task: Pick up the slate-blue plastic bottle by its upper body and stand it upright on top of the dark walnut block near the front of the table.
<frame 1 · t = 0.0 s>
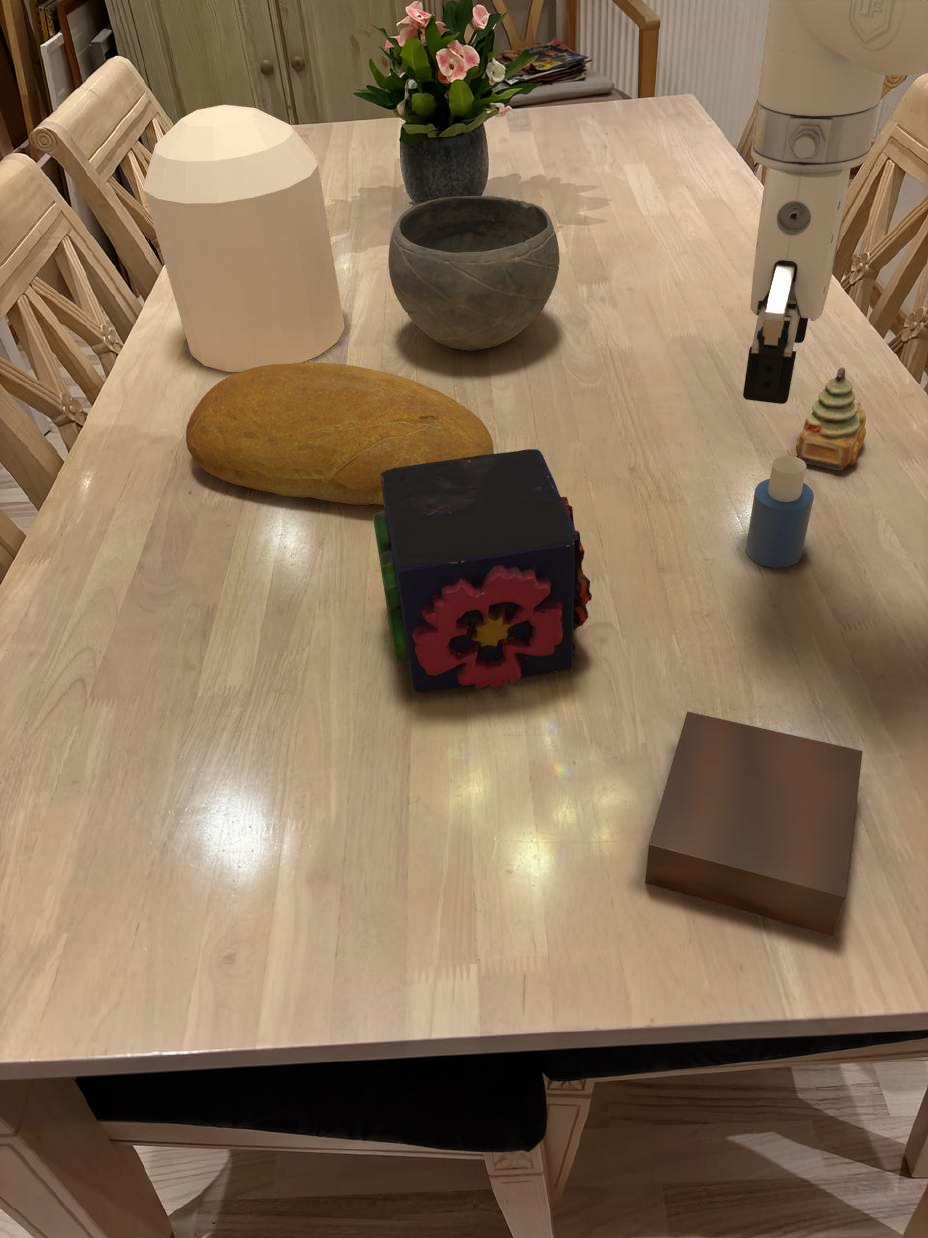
hand: (774, 368, 75), 20 cm above the table, tool pointing down, fingers open, 9 cm apart
block: (750, 835, 67), on the table
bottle: (773, 550, 90), on the table
container: (267, 335, 130), on the table
decorative cube: (483, 632, 85), on the table
bowl: (478, 337, 126), on the table
ornament: (828, 453, 101), on the table
bread: (344, 462, 106), on the table
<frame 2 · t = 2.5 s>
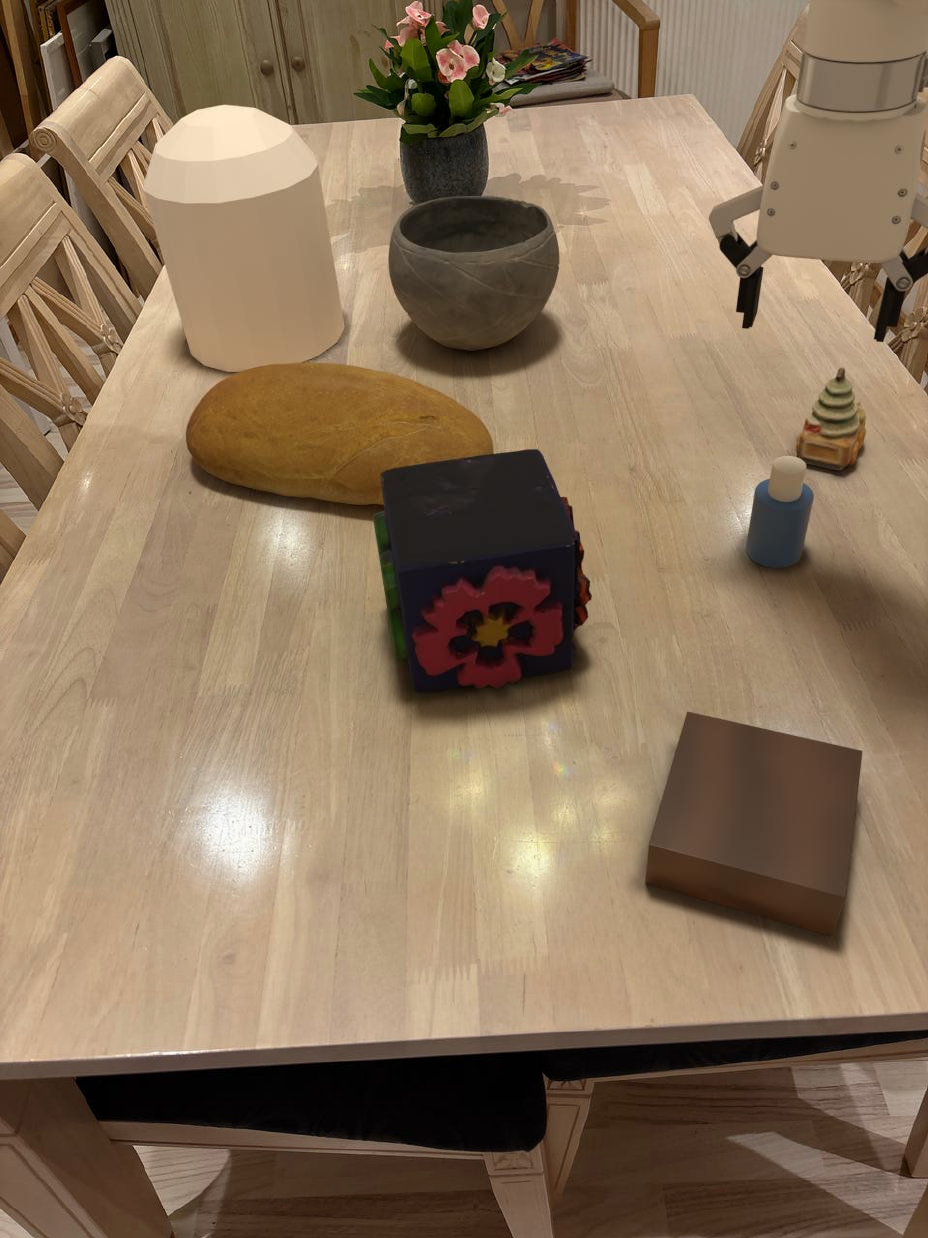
hand: (813, 327, 75), 22 cm above the table, tool pointing down, fingers open, 9 cm apart
nothing on the table moved.
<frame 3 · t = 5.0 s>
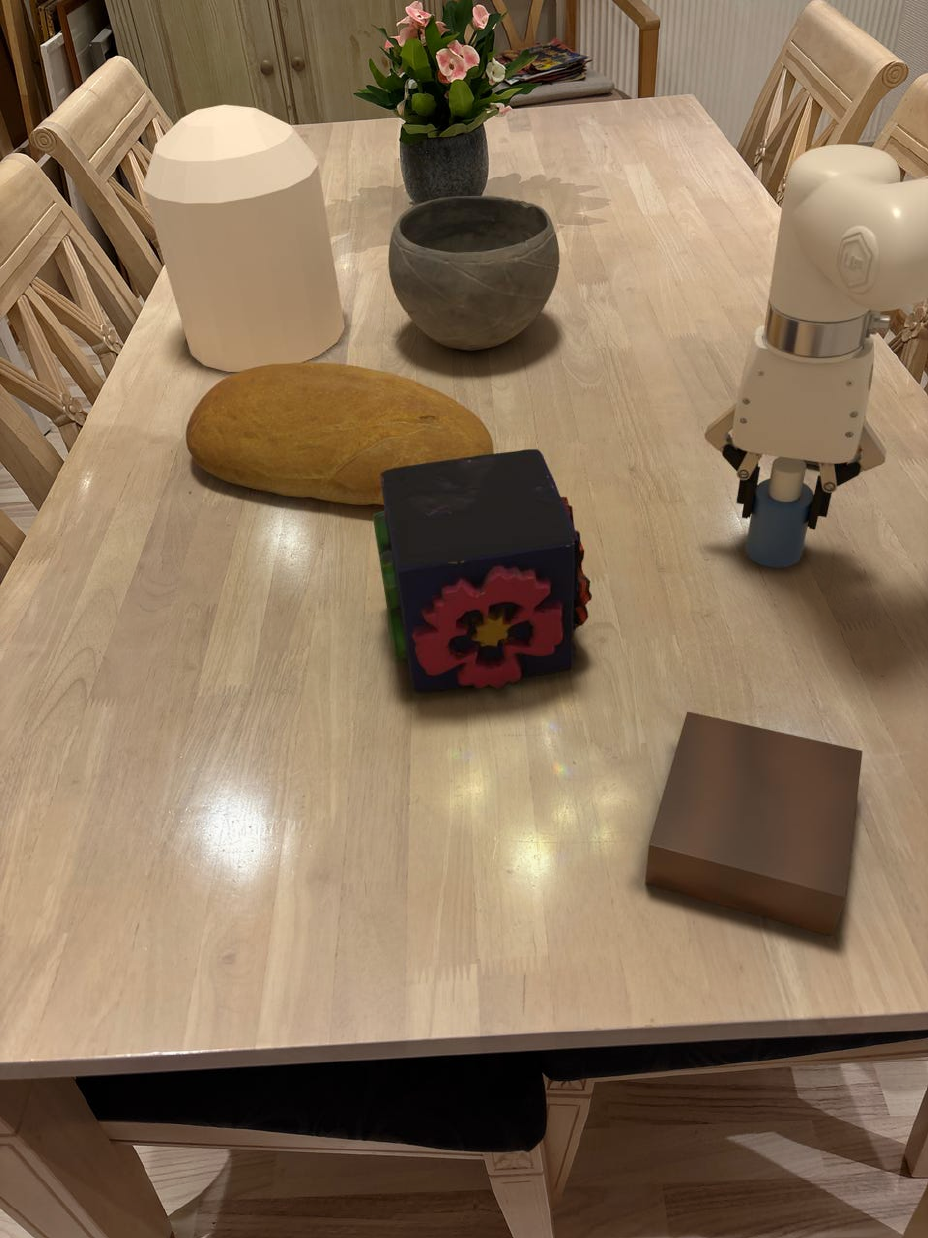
hand: (780, 513, 87), 4 cm above the table, tool pointing down, fingers closed on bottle, 5 cm apart
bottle: (773, 550, 90), on the table, touching gripper
everything else where it was.
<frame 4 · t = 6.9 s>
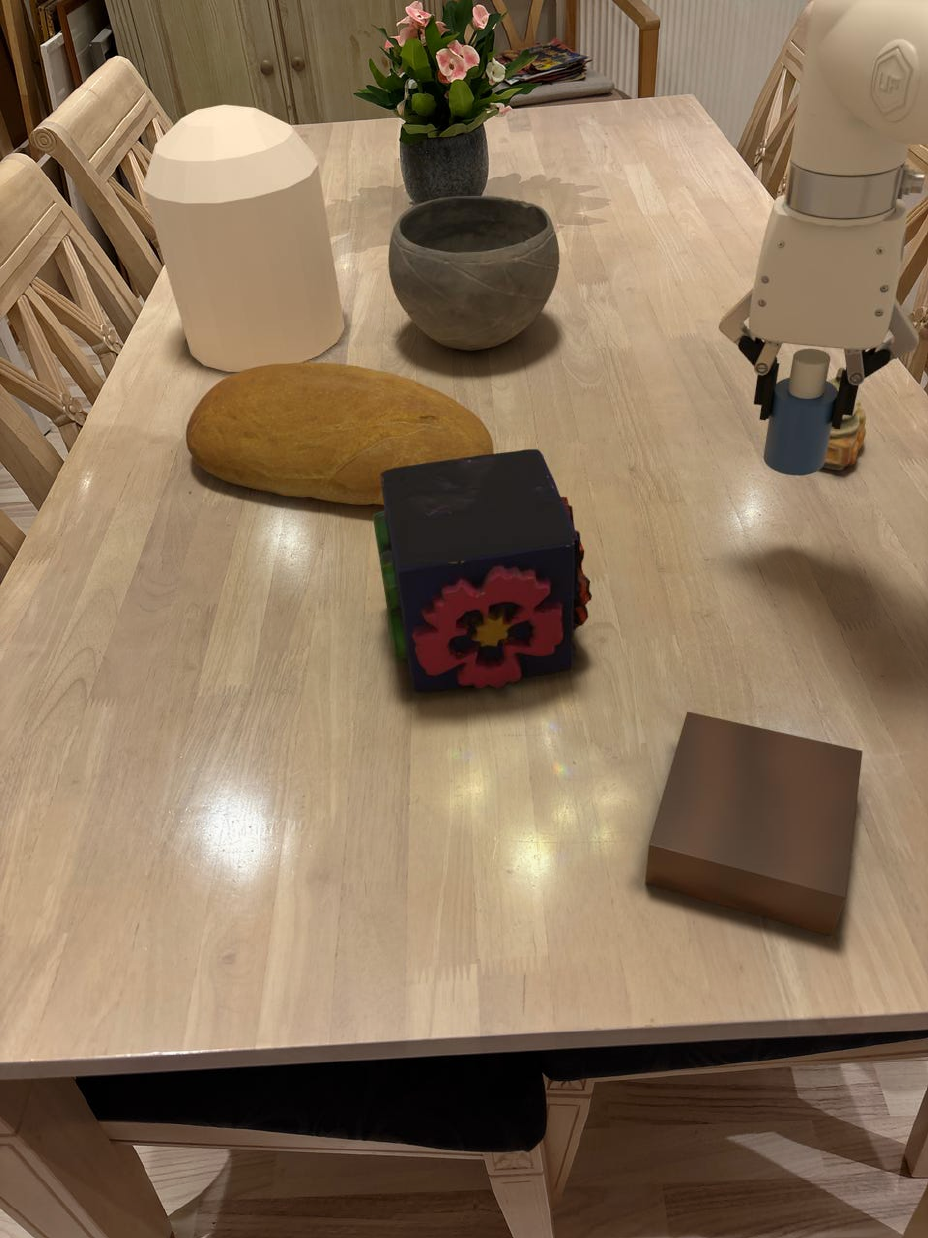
hand: (801, 414, 80), 15 cm above the table, tool pointing down, fingers closed on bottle, 5 cm apart
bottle: (793, 459, 83), point 10 cm above the table, touching gripper
everything else where it was.
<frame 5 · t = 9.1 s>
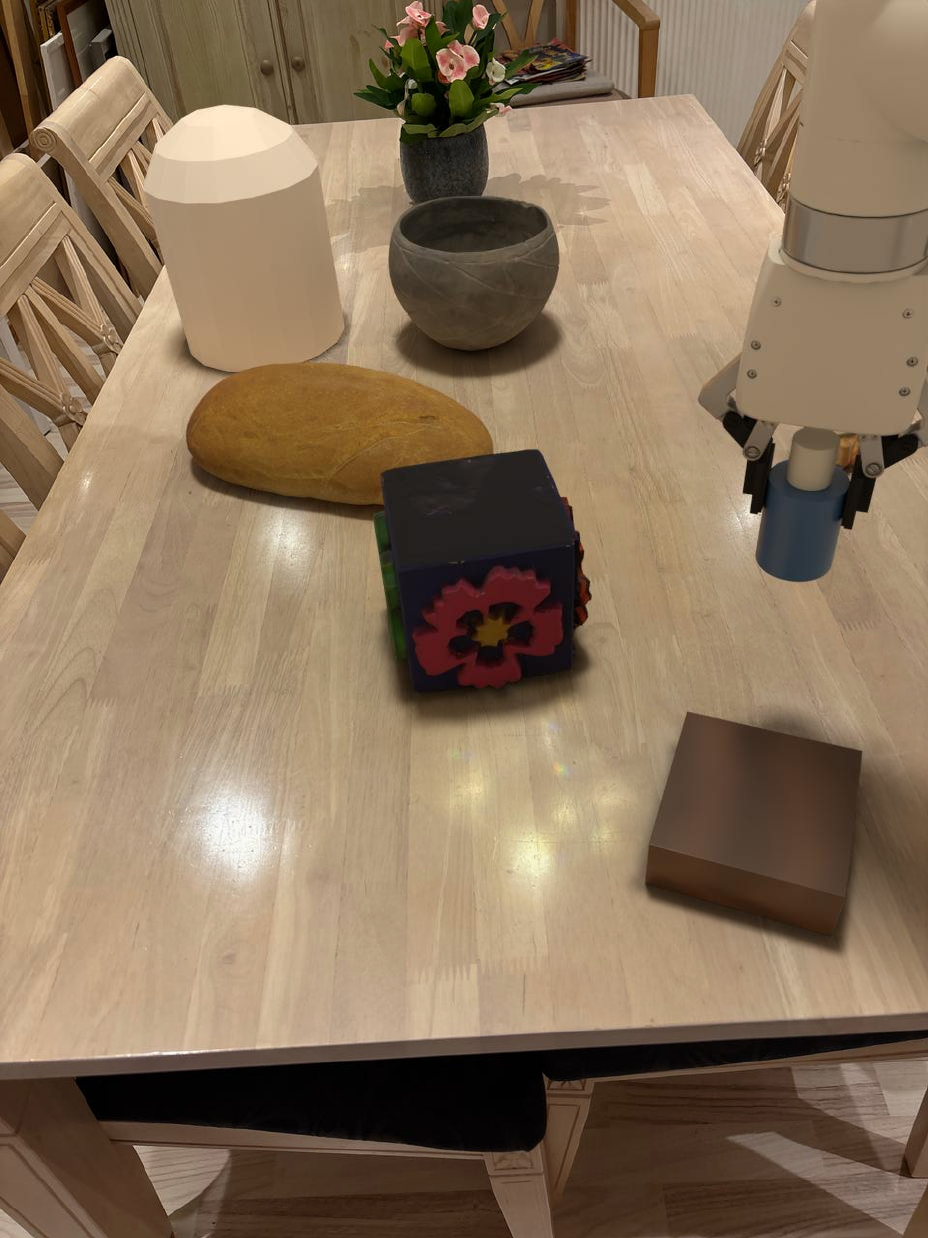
hand: (803, 507, 63), 19 cm above the table, tool pointing down, fingers closed on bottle, 5 cm apart
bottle: (793, 558, 66), point 15 cm above the table, touching gripper
everything else where it was.
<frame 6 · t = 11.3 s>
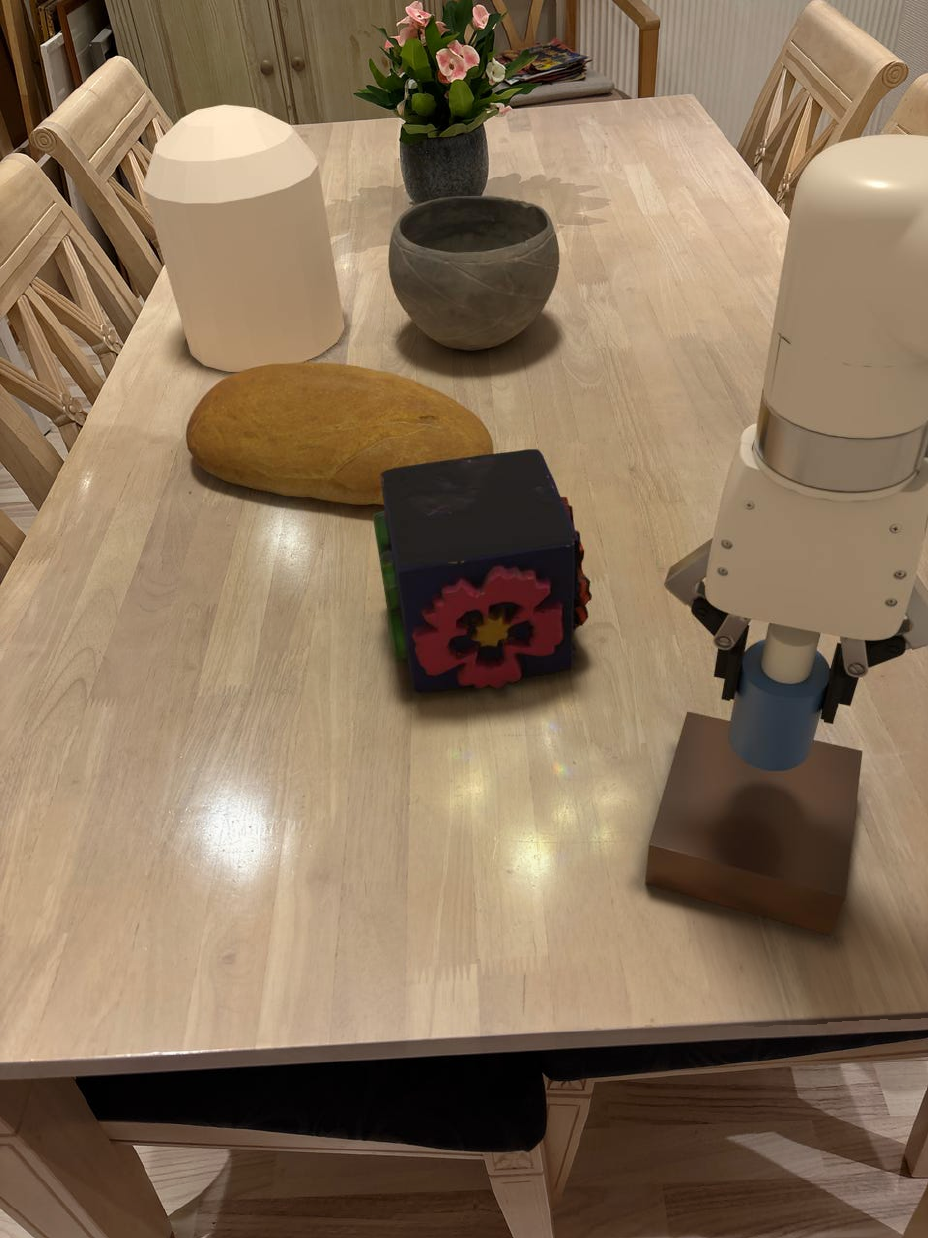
hand: (779, 692, 58), 14 cm above the table, tool pointing down, fingers closed on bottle, 5 cm apart
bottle: (769, 740, 60), point 10 cm above the table, touching gripper
everything else where it was.
when the fingers open (9 cm above the table, at t = 13.0 s): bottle stays where it is, resting on block.
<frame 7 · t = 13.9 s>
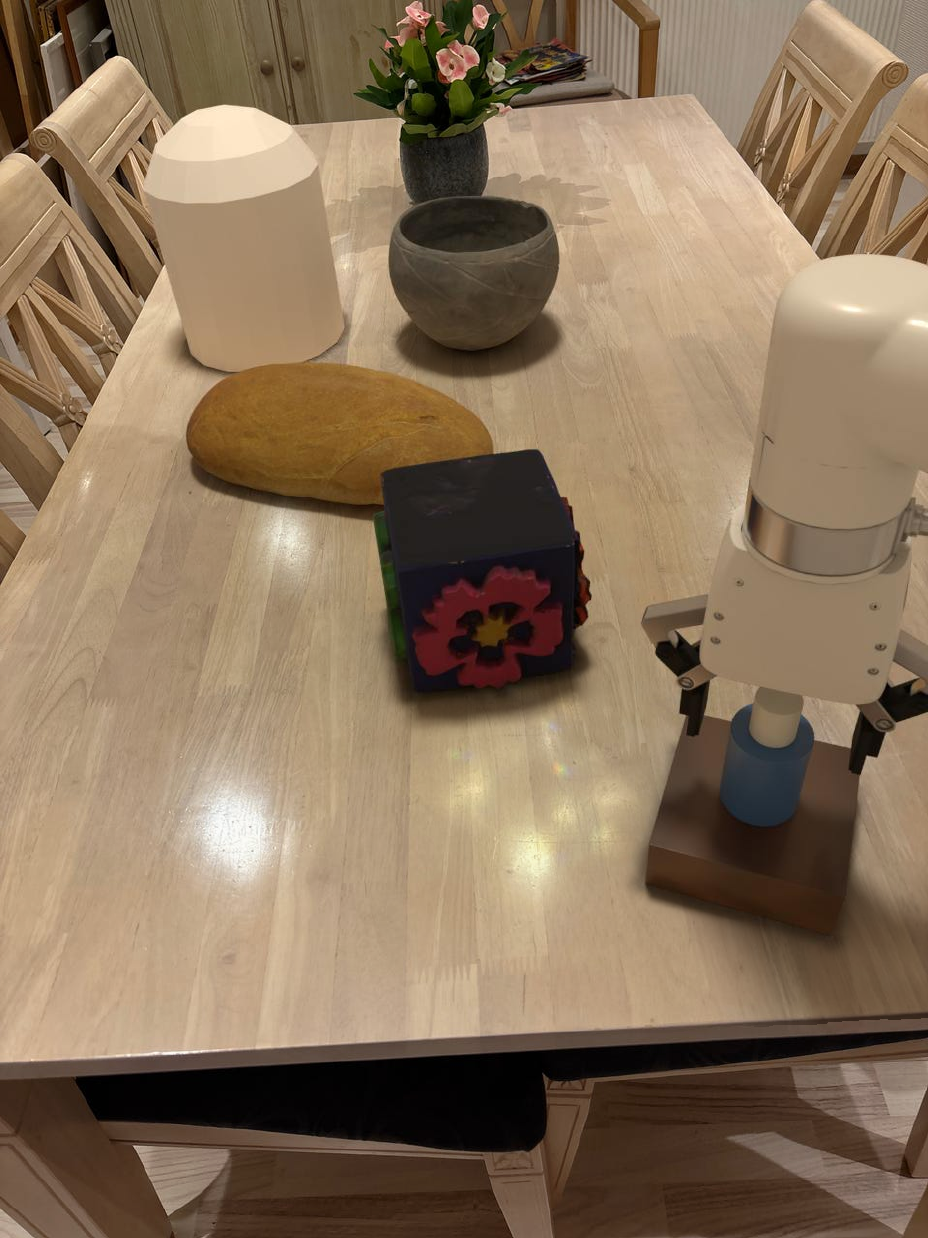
hand: (774, 738, 60), 10 cm above the table, tool pointing down, fingers open, 9 cm apart
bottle: (758, 795, 64), point 4 cm above the table, touching block
everything else where it was.
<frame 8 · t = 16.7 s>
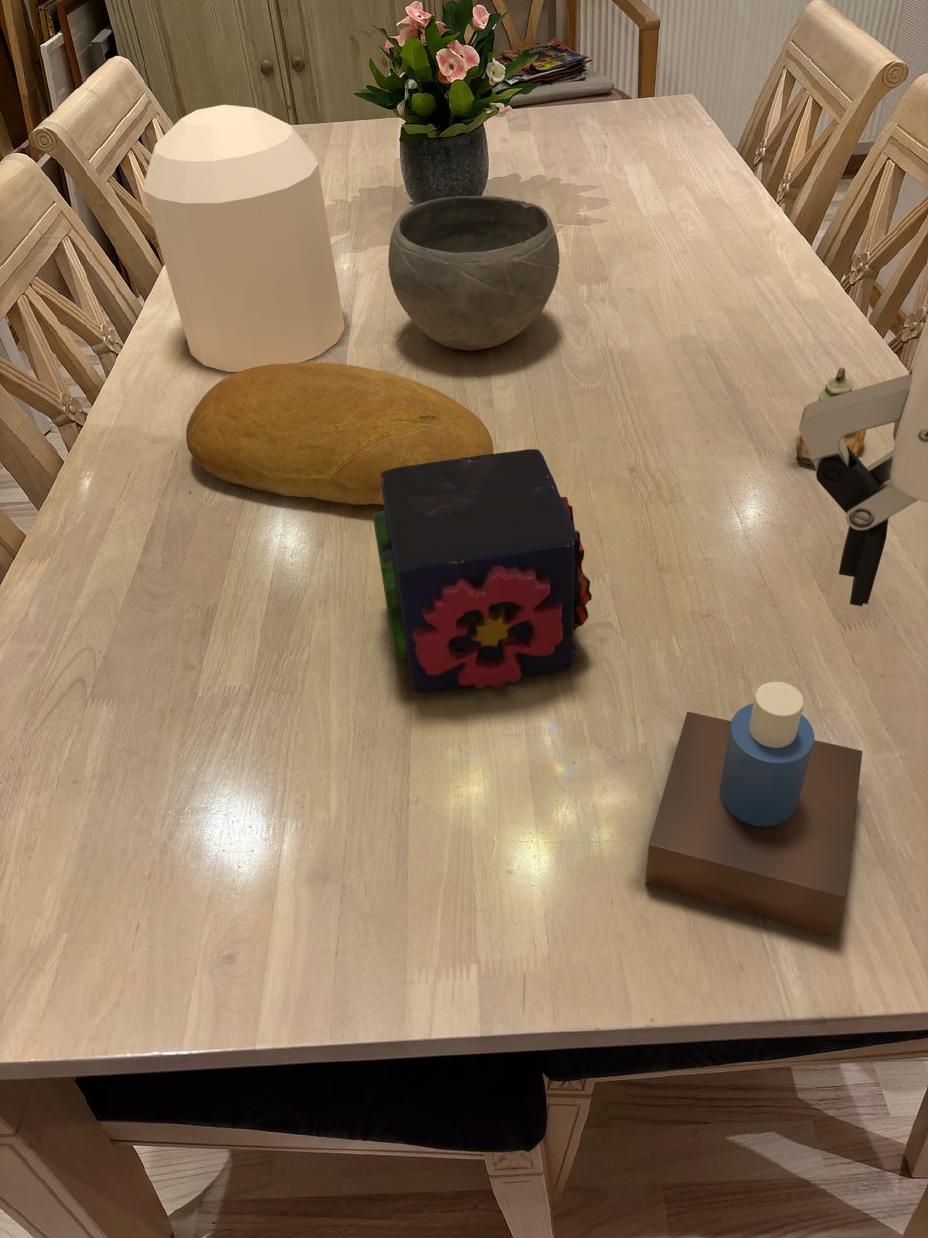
nothing on the table moved.
at the end: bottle inside the target area on the block (0.1 cm from its centre), point 4.5 cm above the block's base; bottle tilted 0°; the gripper is holding nothing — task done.
